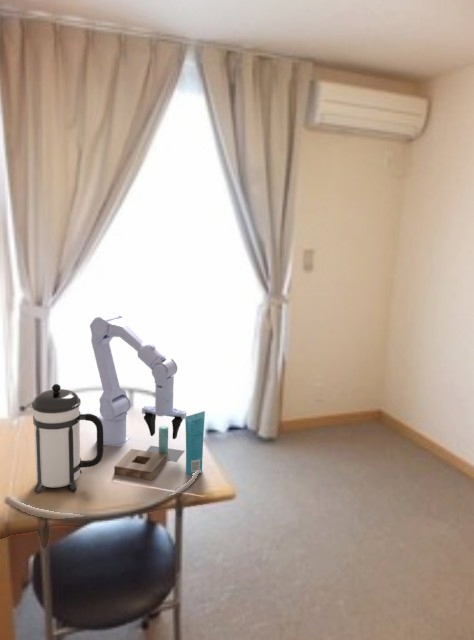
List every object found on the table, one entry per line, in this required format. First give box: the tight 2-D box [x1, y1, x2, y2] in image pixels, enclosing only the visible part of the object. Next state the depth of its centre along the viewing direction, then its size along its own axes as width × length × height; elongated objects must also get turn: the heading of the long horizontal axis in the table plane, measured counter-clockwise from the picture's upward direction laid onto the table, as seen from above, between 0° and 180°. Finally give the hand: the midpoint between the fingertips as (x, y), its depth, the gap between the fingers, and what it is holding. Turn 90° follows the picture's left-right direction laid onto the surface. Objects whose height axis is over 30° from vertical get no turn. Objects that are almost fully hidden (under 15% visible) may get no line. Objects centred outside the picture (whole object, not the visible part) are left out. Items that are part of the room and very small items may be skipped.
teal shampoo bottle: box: [184, 410, 206, 476], centre depth 154 cm, size 7×5×19 cm, turn 140°
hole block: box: [113, 448, 167, 481], centre depth 156 cm, size 12×12×3 cm
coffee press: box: [27, 383, 104, 494], centre depth 144 cm, size 17×16×30 cm
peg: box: [158, 425, 169, 454], centre depth 165 cm, size 3×3×9 cm
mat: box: [145, 445, 185, 463], centre depth 166 cm, size 12×8×1 cm, turn 77°
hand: (163, 436), depth 165 cm, fingers open, 7 cm apart
